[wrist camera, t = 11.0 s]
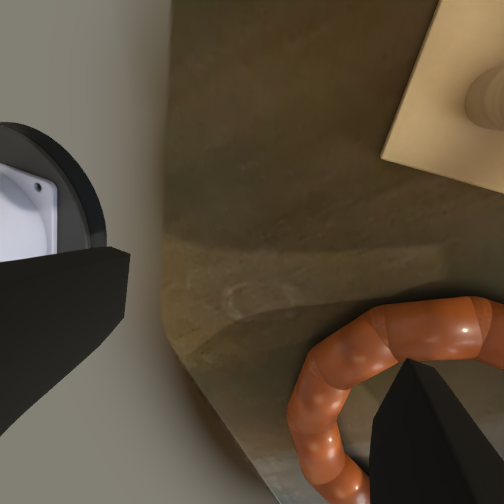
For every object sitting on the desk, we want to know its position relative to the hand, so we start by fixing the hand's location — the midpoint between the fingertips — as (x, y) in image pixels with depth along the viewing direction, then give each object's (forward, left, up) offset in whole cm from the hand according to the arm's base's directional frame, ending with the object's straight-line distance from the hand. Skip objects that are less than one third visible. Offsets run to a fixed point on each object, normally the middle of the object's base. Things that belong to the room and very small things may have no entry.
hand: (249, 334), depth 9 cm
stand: (+5, +7, -9) cm, 13 cm away
